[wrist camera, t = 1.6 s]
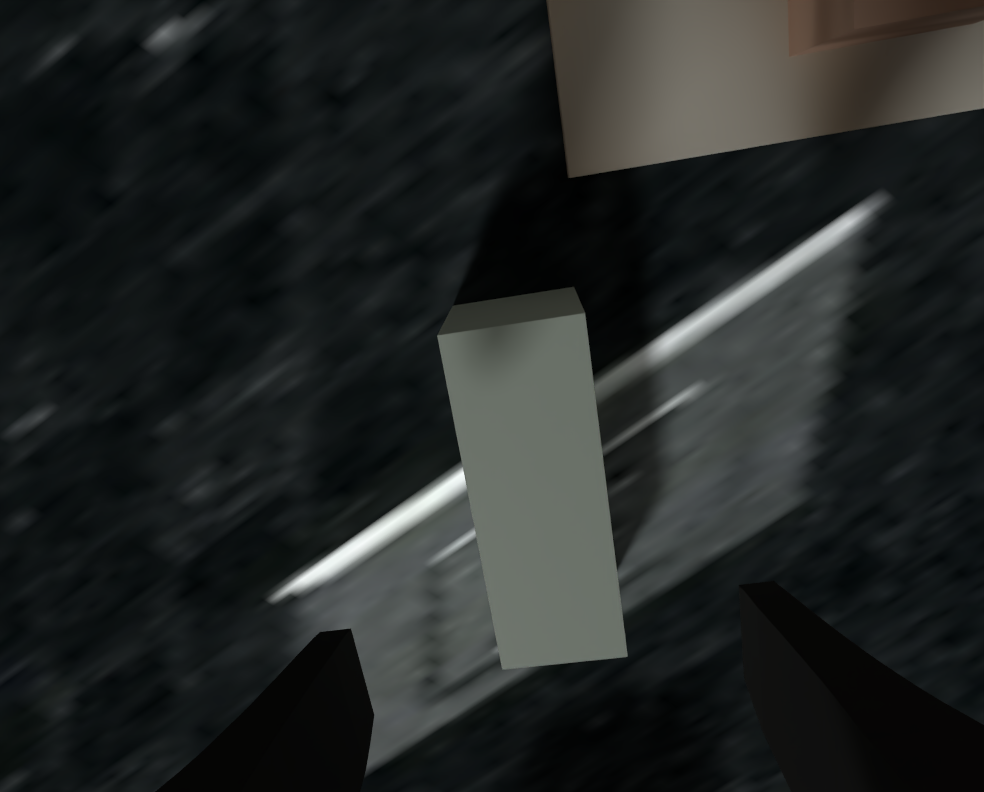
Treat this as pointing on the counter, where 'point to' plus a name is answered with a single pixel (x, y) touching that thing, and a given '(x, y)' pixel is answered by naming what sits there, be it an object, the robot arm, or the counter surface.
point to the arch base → (752, 72)
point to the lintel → (535, 475)
